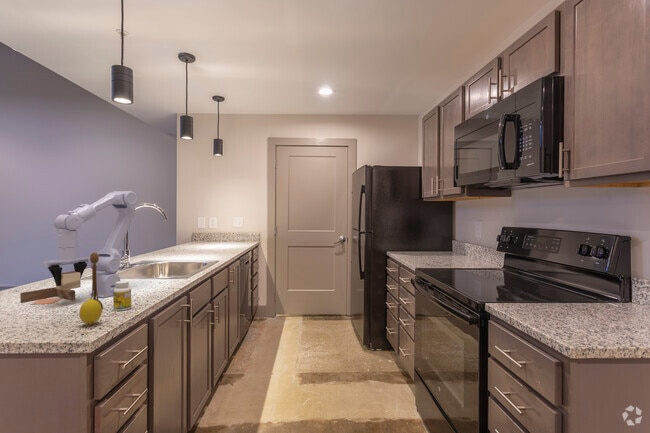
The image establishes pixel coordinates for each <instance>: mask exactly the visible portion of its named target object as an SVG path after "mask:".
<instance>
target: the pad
mask: <svg viewBox="0 0 650 433" xmlns="http://www.w3.org/2000/svg"><path fill="white" fill-rule="evenodd" d="M62 299H63V298H60V297H57V298H56V297H55V298H54V297H51V298H45V299H40V300H35V301H33V302H32V303H30V304H29V305H33V306H34V305H46V304H54V303H56V302H58V301H60V300H62Z"/></svg>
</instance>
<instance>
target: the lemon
mask: <svg viewBox="0 0 650 433" xmlns="http://www.w3.org/2000/svg"><path fill="white" fill-rule="evenodd" d="M102 312H103V309H102V308H101V305H100V303H99V302H98V301H96V300H93V298H92V299H91V298H89V299H87V300H86V301H84V302H83V303H82V304H81V306H80V309H79V318H80V320H81V322H83V323H85V324H88V325H90V326H92V325H93V324H94V323H96V322H98V320H99V319H100V318H101V316H102Z"/></svg>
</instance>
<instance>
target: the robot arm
mask: <svg viewBox="0 0 650 433" xmlns="http://www.w3.org/2000/svg"><path fill="white" fill-rule="evenodd" d="M138 203H139V199H138V197H137V194H136V192H134V191H132V190H127V191H124V190H123V191H122V190H121V191H118V190H114V191H111V192H109V193H106V195H104V196H103V197H101V198H100V199H98V200H97V201H95V202H93V203H91V204H84V203H83V204H79V205H78V207H77V208H75V209H73V210H69V211H67V213H66V214H60V215H58V216H57V217H56V218H55V219H54V221H53V222H52V223H53V224H52V225H53V227H54V228H55V229H56V234H57V255H58V256H57V259H51V260H44V261H42V268H47V269H48V270H49V272H50V274H51V275H52V277H53V279H54V283H55V287H56V286H61V273H63V272H62V271H63V267H62V266H66V265H73V269H74V270H73V271H75V272H80V280H81V279H82V277H83V273H84V272H85V270H86V268H87V267H88V263H89V266H90V269H91V270H92V266H93V263H91V261H90V256H80V257H78V254H79V252H78V248H79V247H78V230H79V229H81V227H82V225H83V224H84V223H86V222H88V221H90V220H91V219H93V218H95V217H96V215H97V212H99V211H101V210H103V209H106V208H108V207H110V206H111V207H112V208H114V210H116V212H117V213H118V216H117V218H116V221H115V223H114V225H113V228H112V230H111V231H110V233H109V235H108V238H107V241H106V242H105V245H104V247H103V248H101V249H100V250H98V251H97V252H96V253H97V254H98V256H99V260H98V262H97V263H96V266H97V267H96V278H97V294H98V298H101V299H102V298H108V297H113V290H114V289H115V288H116V286H115V283H116V282H119V281H121V278H120V276H119V275H118V274H117V272H118V270H119V269H120V266H121V260H122V254H121V253H120V252H119V251H120V250H121V246H122V245H123V243H124V240H125V238H126V236H127V233H128V231H129V229H130V227H131V224H132V222H133V220H134V217H135V215H136V208H137V206H138V205H137V204H138ZM89 295H90V296H92V292H91V293H89Z"/></svg>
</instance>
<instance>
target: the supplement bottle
mask: <svg viewBox="0 0 650 433" xmlns="http://www.w3.org/2000/svg"><path fill="white" fill-rule="evenodd" d="M129 284H130V281H128V280H120V281H119V282H116V283H115V286H116V288H115V289H114V290H113V296H112V297H113V300H112V301H113V310H114V311H116V312H123V311H128V310H130V309H131V308H132V288H131V287H130V286H129Z"/></svg>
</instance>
